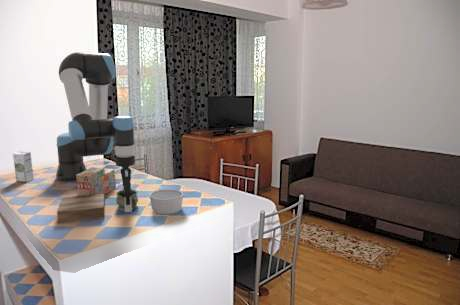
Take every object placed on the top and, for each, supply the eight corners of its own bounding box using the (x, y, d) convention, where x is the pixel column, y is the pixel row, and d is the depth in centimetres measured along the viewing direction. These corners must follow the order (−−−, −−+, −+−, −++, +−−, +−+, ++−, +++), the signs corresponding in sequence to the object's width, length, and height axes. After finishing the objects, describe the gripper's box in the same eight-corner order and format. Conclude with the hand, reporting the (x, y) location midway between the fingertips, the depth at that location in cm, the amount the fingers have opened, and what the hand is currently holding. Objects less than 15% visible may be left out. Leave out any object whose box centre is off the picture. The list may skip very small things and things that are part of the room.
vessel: (109, 206, 150) (108, 192, 149) (127, 200, 157) (126, 186, 155) (127, 213, 143) (127, 198, 142) (145, 207, 150) (145, 192, 148)
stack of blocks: (104, 186, 175) (102, 162, 172) (116, 187, 174) (114, 162, 171) (78, 202, 155) (75, 174, 152) (91, 203, 153) (89, 175, 151)
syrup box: (34, 179, 185) (31, 151, 182) (26, 182, 179) (23, 153, 176) (24, 178, 186) (20, 150, 182) (15, 181, 180) (12, 153, 177)
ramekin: (168, 201, 156) (168, 186, 155) (190, 209, 148) (190, 193, 146) (143, 210, 146) (142, 194, 145) (164, 219, 138) (164, 202, 136)
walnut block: (63, 208, 148) (61, 197, 147) (104, 204, 153) (103, 193, 152) (58, 224, 133) (57, 211, 132) (104, 219, 138) (103, 207, 137)
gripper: (114, 149, 155) (117, 197, 160) (115, 163, 133) (119, 218, 137) (132, 148, 157) (134, 195, 162) (136, 161, 135) (139, 216, 140)
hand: (127, 206), depth 150 cm, fingers open, 12 cm apart
